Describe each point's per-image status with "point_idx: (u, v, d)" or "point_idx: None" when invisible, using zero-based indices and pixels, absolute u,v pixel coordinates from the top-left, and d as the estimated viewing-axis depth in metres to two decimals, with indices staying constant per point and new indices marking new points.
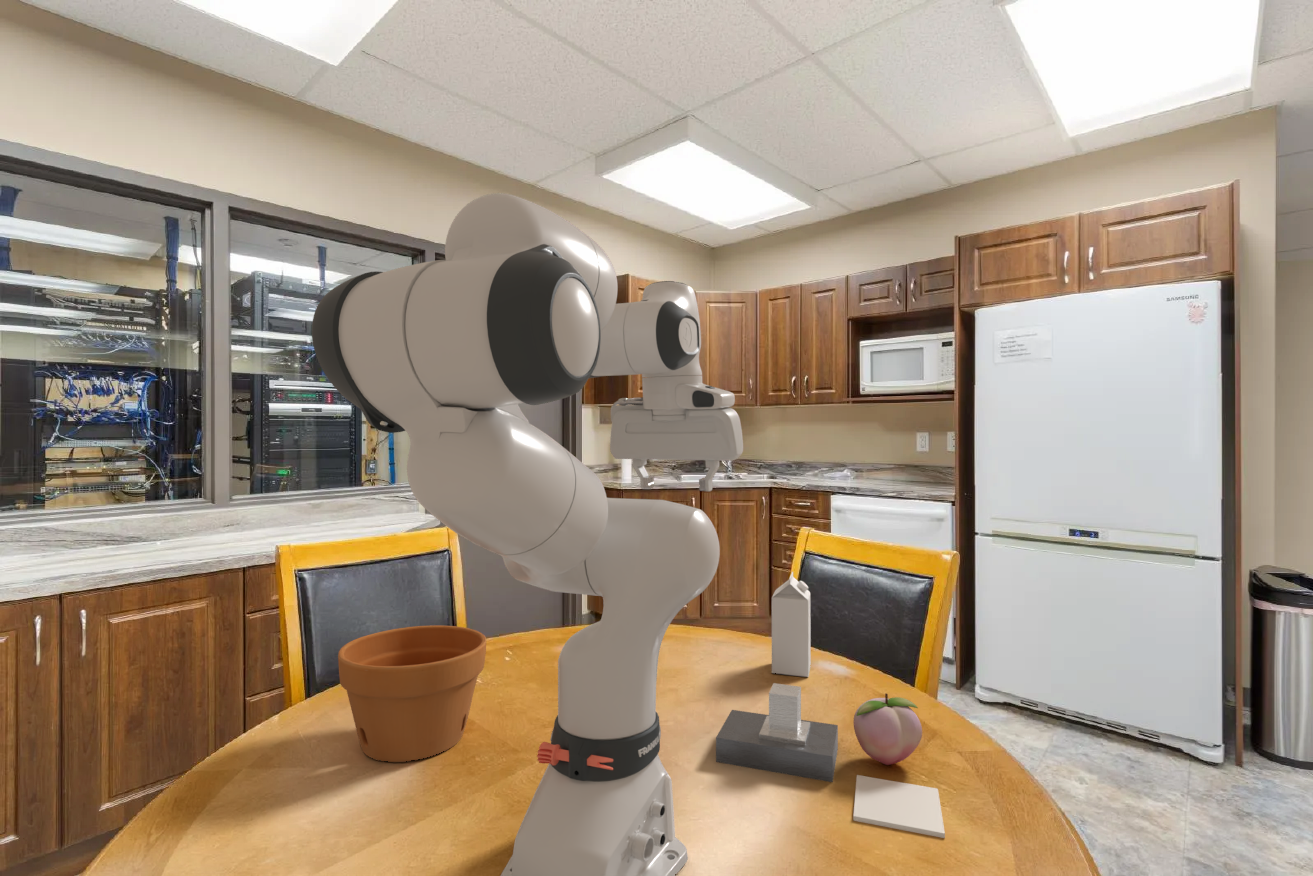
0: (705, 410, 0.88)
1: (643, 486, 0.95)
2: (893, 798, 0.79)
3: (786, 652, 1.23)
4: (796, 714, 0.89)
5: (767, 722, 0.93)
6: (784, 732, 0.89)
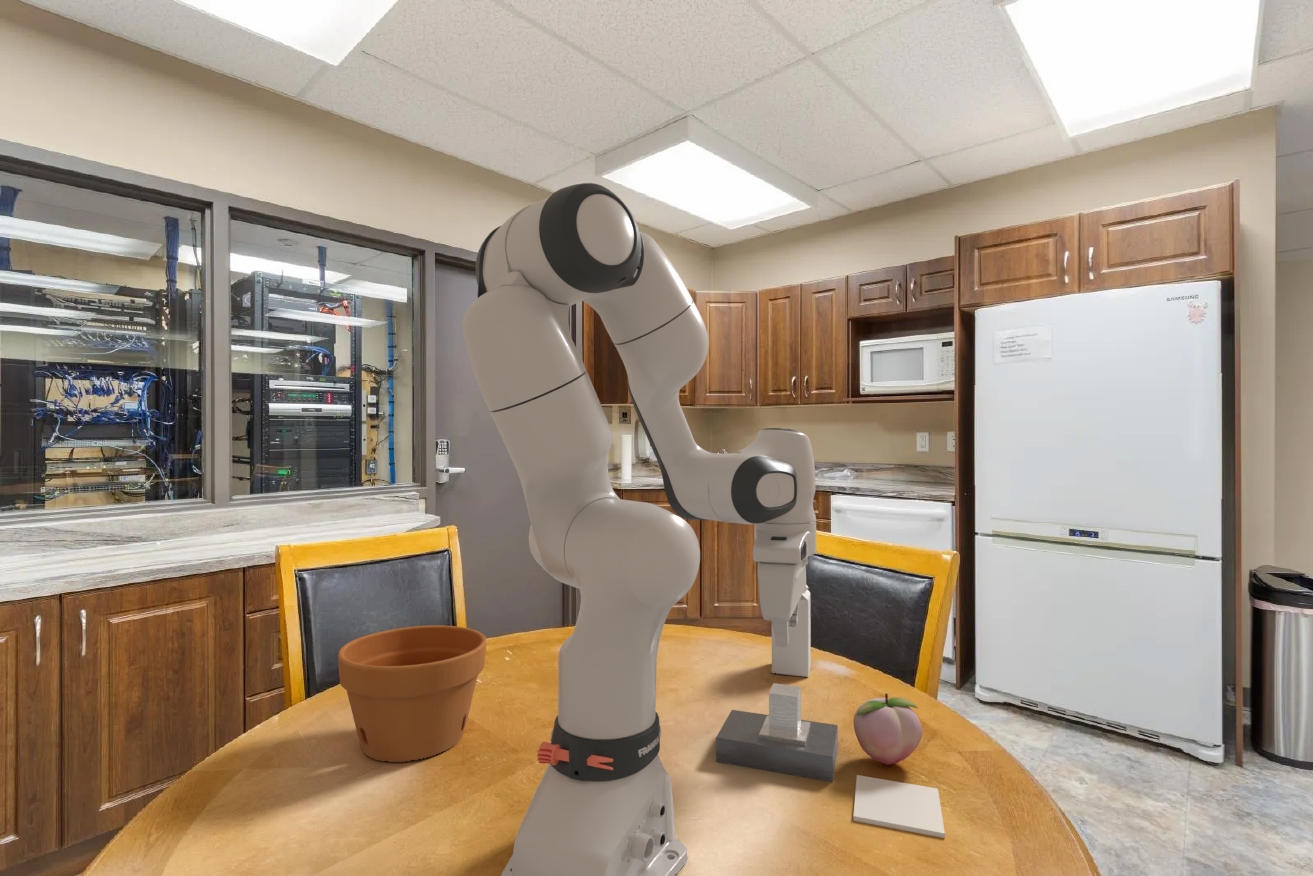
0: None
1: None
2: (893, 798, 0.79)
3: (786, 652, 1.23)
4: (796, 714, 0.89)
5: (767, 722, 0.93)
6: (784, 732, 0.89)
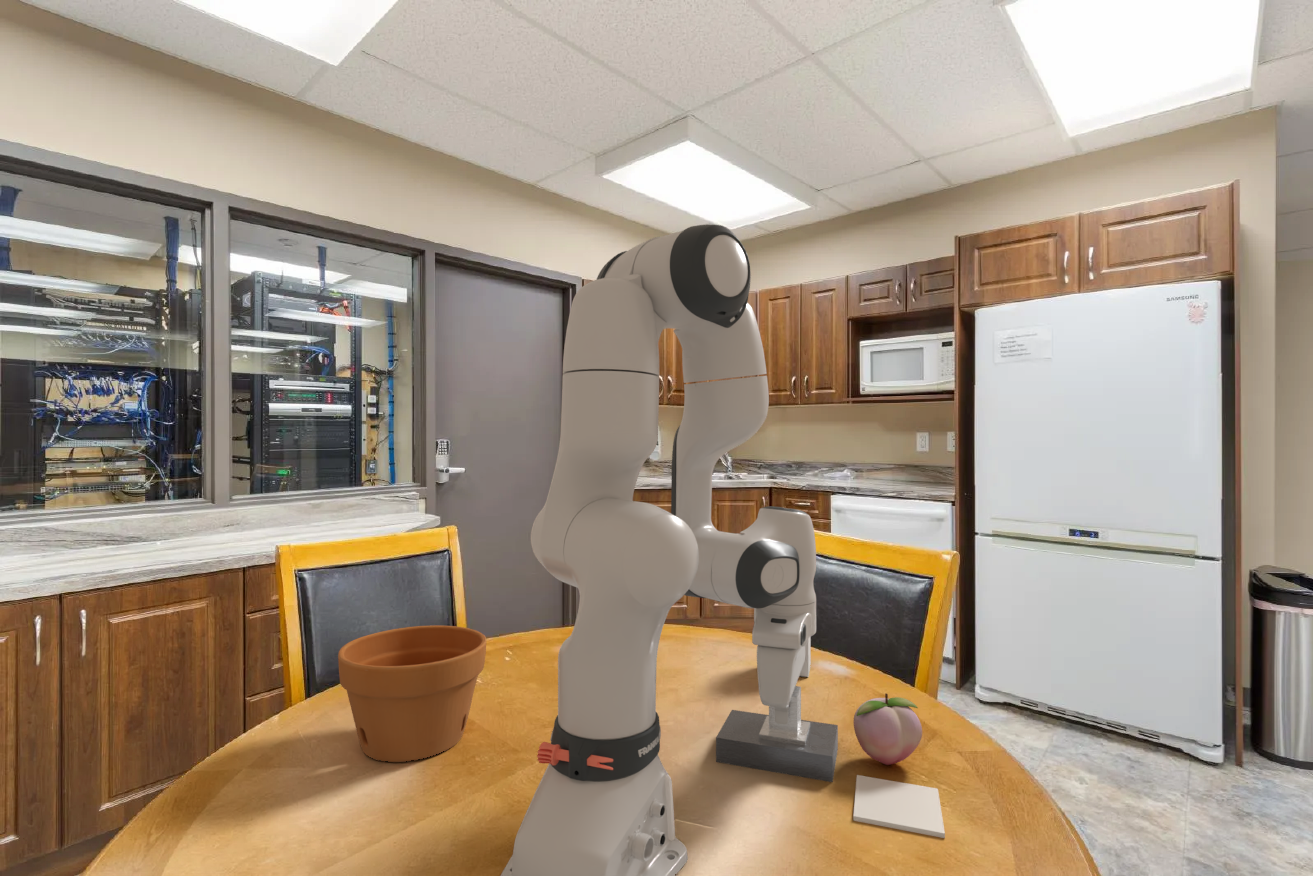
0: None
1: None
2: (893, 798, 0.79)
3: None
4: (796, 714, 0.89)
5: (767, 722, 0.93)
6: (784, 732, 0.89)
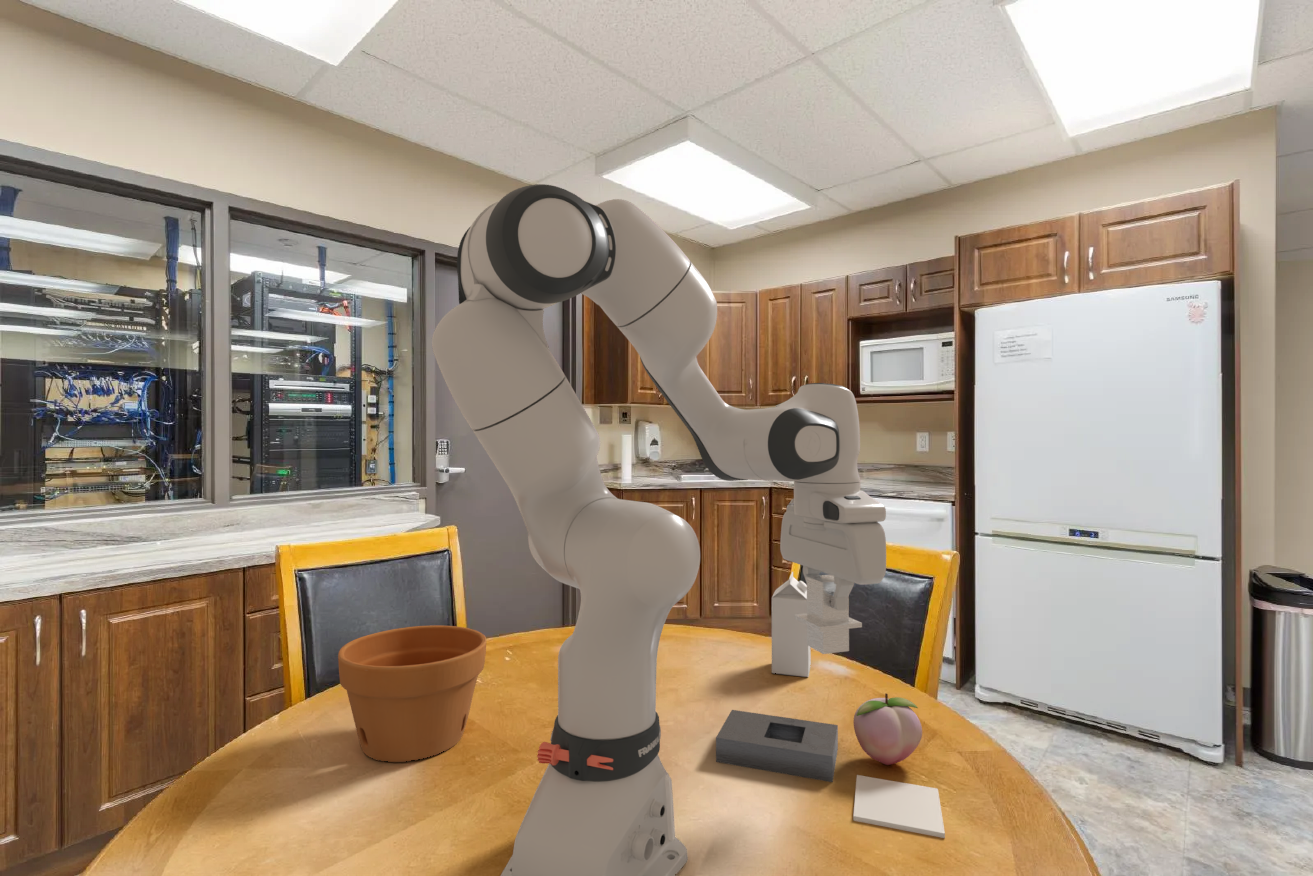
0: (835, 523, 0.80)
1: None
2: (893, 798, 0.79)
3: (786, 652, 1.23)
4: None
5: (806, 618, 0.86)
6: (837, 620, 0.84)
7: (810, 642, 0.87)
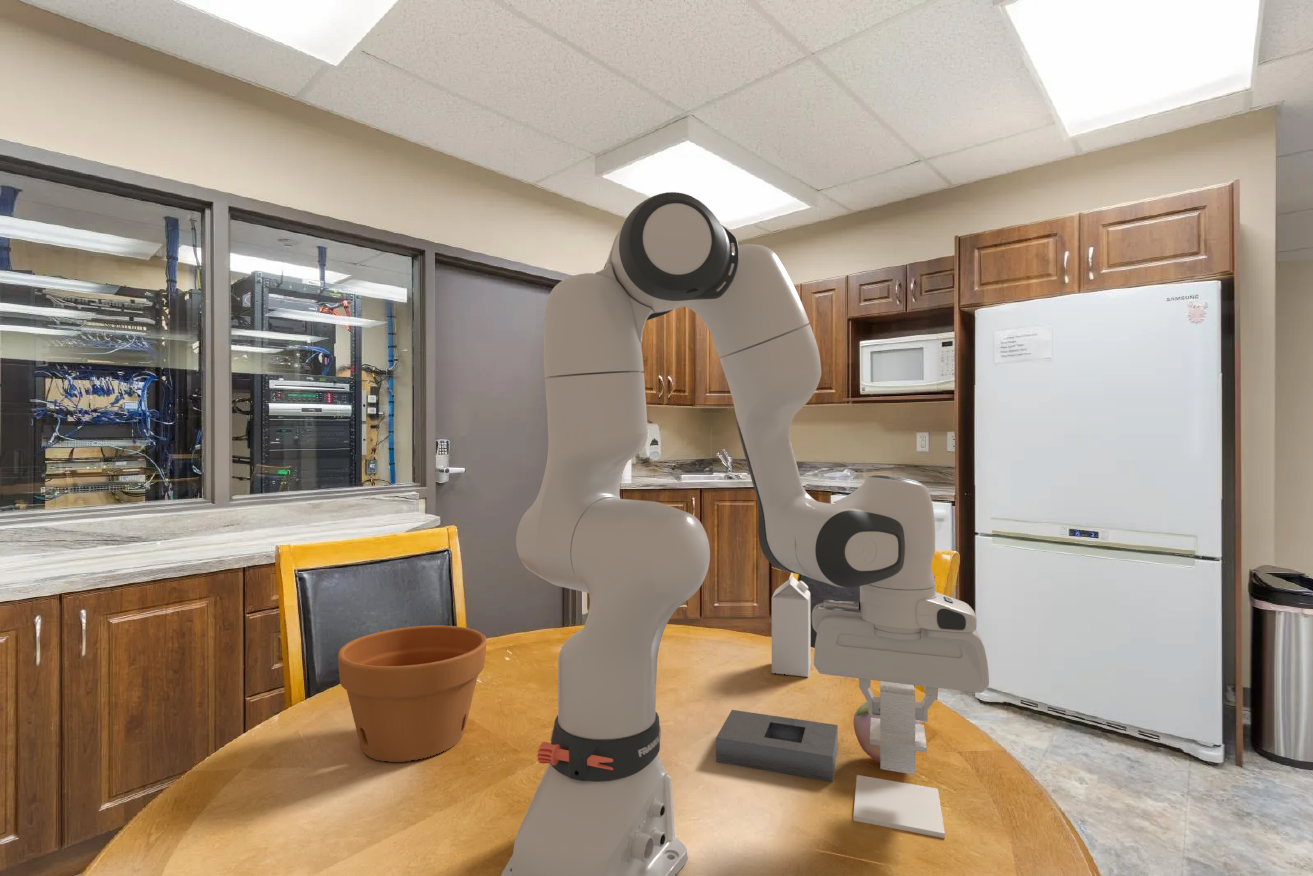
0: (951, 632, 0.74)
1: (872, 712, 0.79)
2: (893, 798, 0.79)
3: (786, 652, 1.23)
4: None
5: (889, 740, 0.77)
6: (914, 731, 0.78)
7: (888, 765, 0.77)
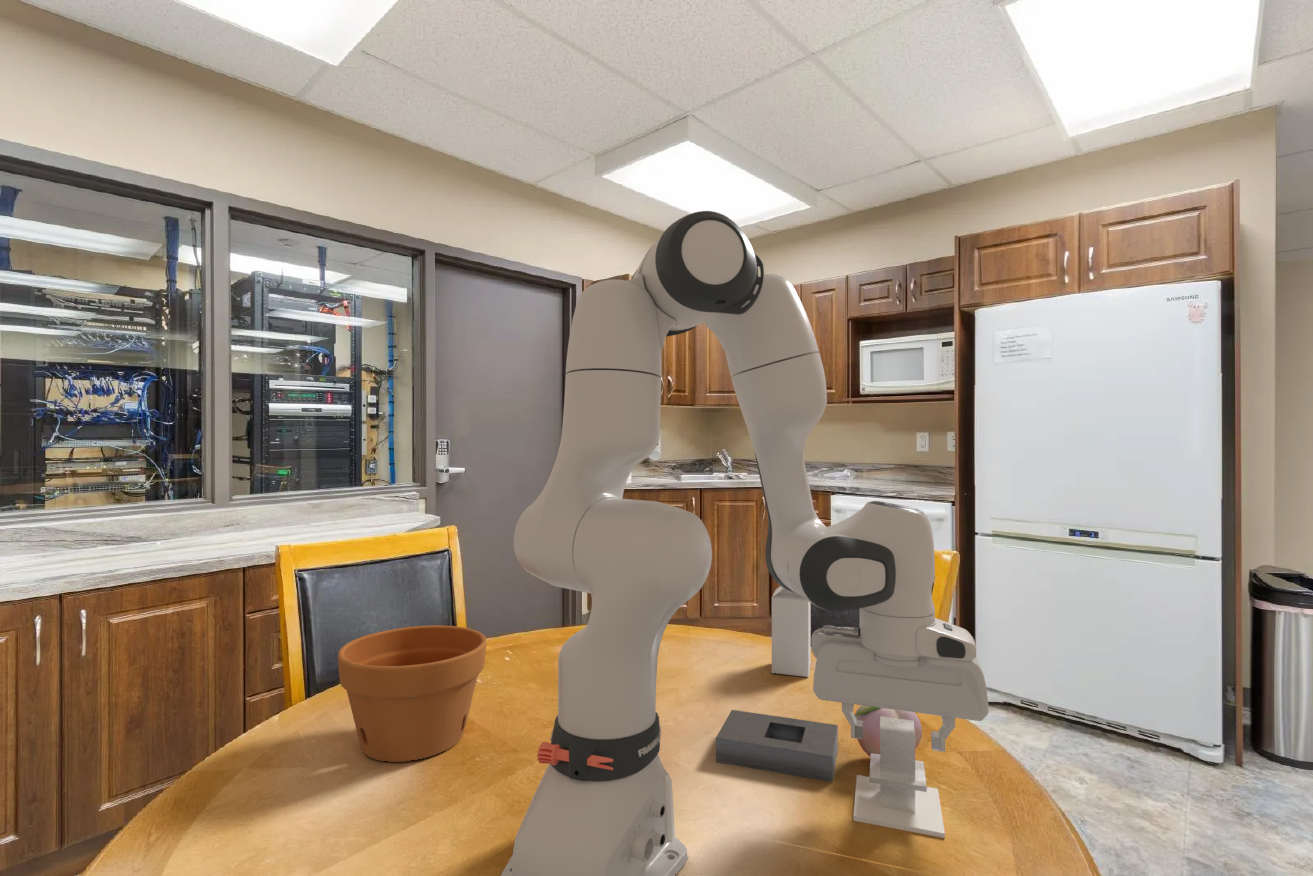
0: (951, 660, 0.74)
1: (855, 736, 0.80)
2: None
3: (786, 652, 1.23)
4: None
5: (889, 778, 0.76)
6: (914, 769, 0.78)
7: (887, 803, 0.77)
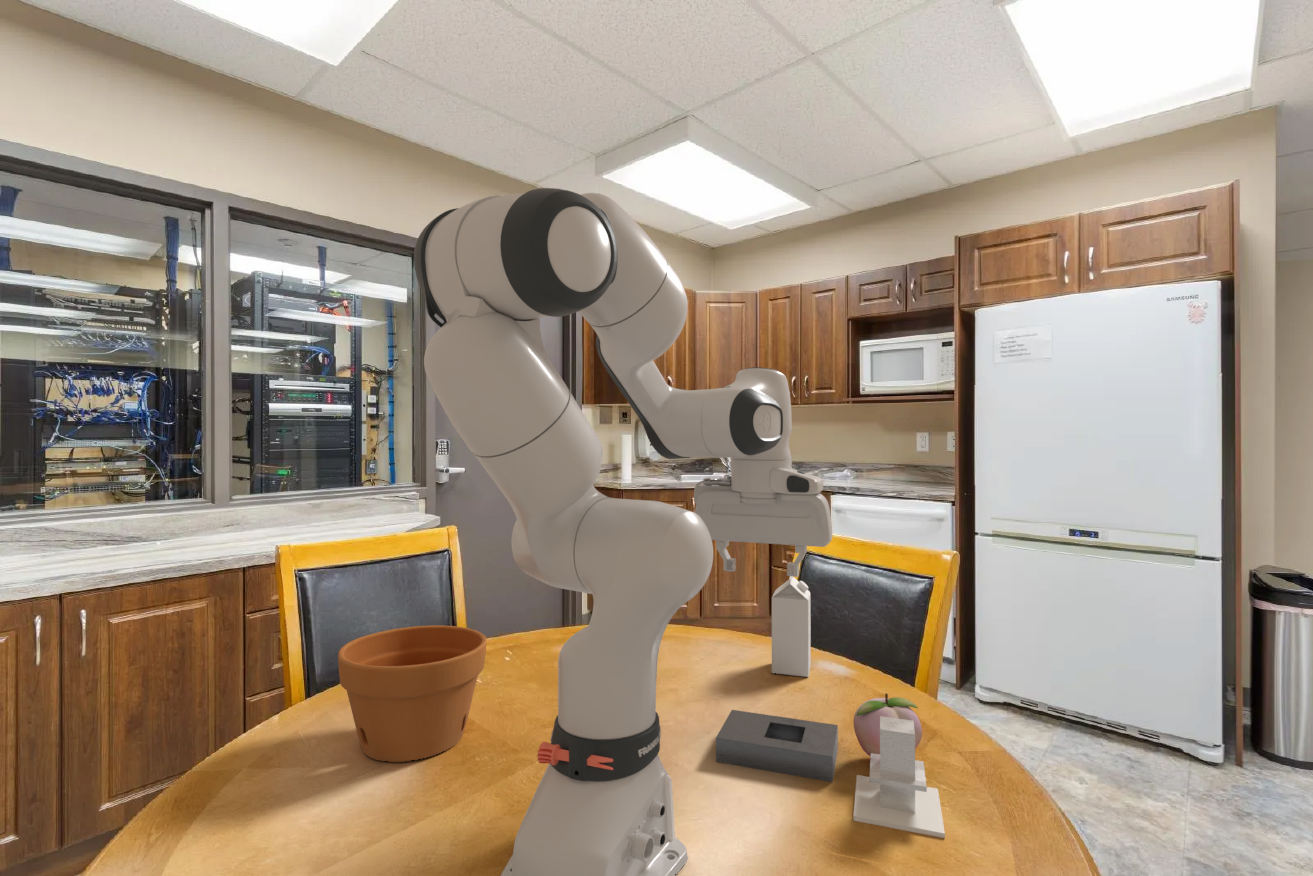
0: (799, 495, 0.88)
1: (727, 569, 0.94)
2: None
3: (786, 652, 1.23)
4: None
5: (889, 778, 0.76)
6: (914, 769, 0.78)
7: (887, 803, 0.77)
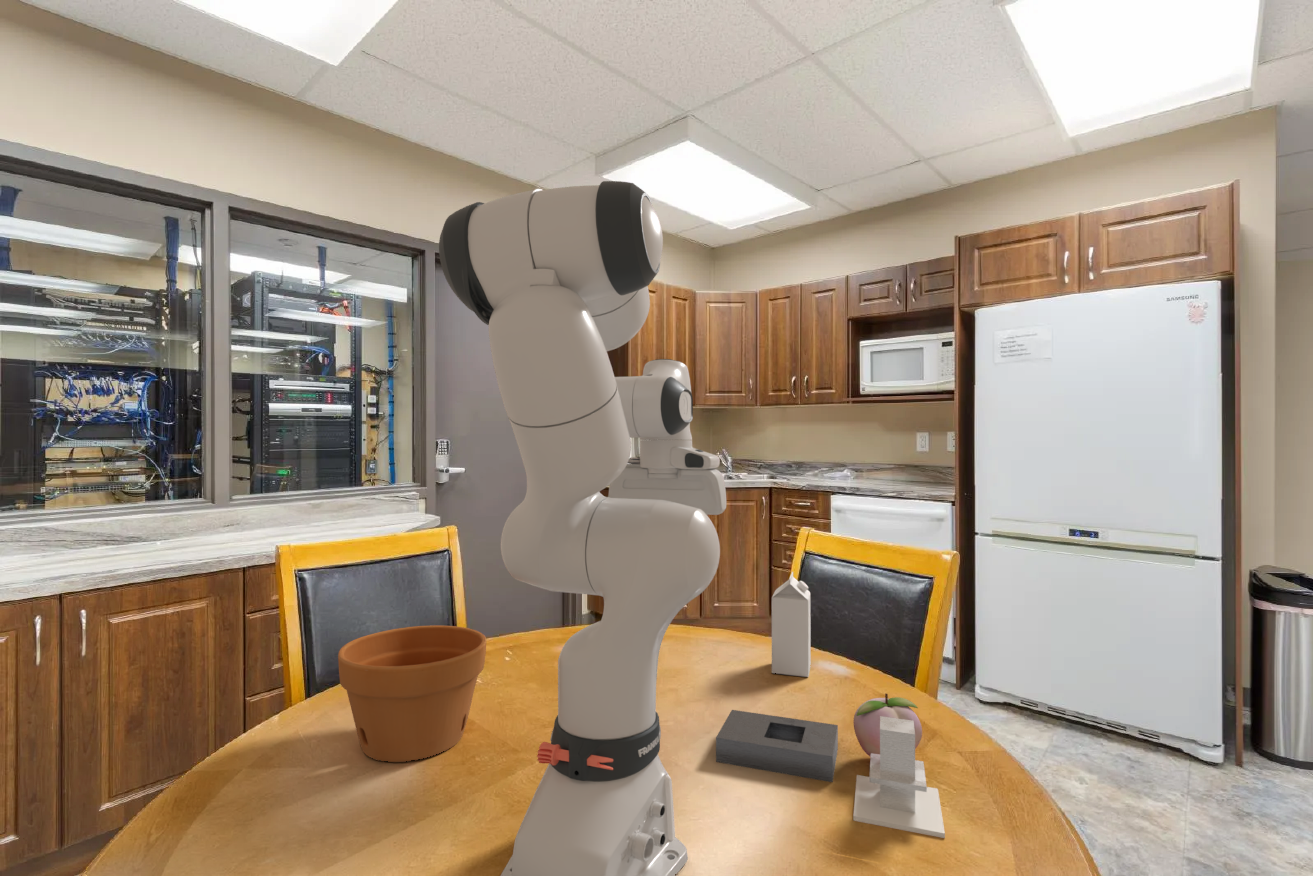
0: (695, 470, 1.02)
1: None
2: None
3: (786, 652, 1.23)
4: None
5: (889, 778, 0.76)
6: (914, 769, 0.78)
7: (887, 803, 0.77)
